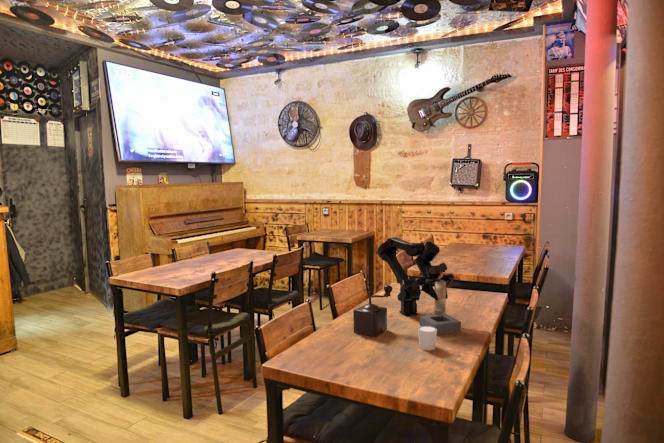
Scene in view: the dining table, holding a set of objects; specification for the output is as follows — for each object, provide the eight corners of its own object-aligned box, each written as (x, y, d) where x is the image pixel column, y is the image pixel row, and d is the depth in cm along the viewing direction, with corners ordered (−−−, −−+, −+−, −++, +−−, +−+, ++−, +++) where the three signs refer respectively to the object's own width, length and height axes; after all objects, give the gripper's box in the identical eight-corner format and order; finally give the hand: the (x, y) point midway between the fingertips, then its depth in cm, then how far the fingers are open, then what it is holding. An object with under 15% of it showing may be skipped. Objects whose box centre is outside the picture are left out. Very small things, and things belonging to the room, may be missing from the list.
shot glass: (415, 349, 153) (415, 330, 153) (420, 342, 159) (420, 324, 159) (434, 352, 150) (434, 333, 150) (438, 345, 156) (439, 327, 156)
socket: (434, 334, 167) (434, 325, 167) (419, 325, 178) (419, 316, 178) (460, 331, 170) (460, 321, 170) (444, 322, 182) (444, 313, 182)
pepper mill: (376, 337, 165) (376, 292, 163) (352, 332, 171) (352, 289, 170) (394, 326, 178) (394, 284, 176) (372, 321, 184) (371, 281, 182)
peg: (435, 315, 172) (435, 283, 171) (433, 312, 176) (434, 280, 175) (446, 315, 171) (446, 283, 170) (444, 312, 176) (445, 280, 174)
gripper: (415, 258, 171) (433, 291, 162) (451, 254, 179) (470, 286, 170) (404, 274, 179) (420, 306, 170) (439, 269, 187) (456, 300, 178)
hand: (442, 299), depth 172 cm, fingers closed on peg, 4 cm apart
